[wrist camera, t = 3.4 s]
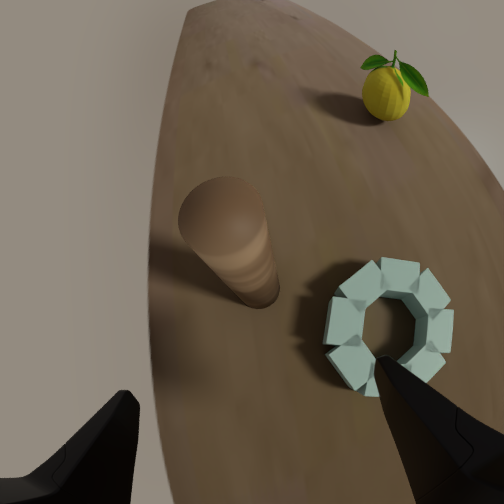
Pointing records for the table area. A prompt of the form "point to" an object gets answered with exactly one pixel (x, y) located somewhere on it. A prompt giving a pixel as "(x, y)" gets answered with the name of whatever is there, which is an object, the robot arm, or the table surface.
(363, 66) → the lemon
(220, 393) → the table surface
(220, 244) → the dowel
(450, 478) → the robot arm
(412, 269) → the ring
